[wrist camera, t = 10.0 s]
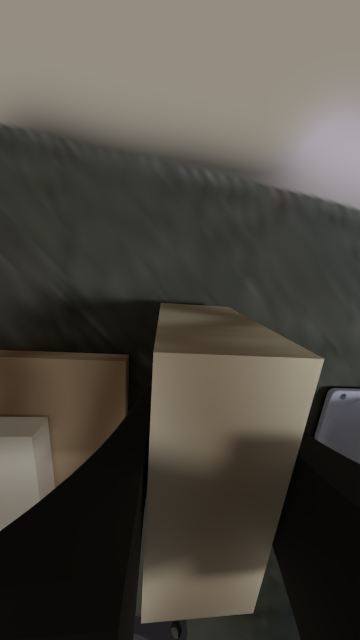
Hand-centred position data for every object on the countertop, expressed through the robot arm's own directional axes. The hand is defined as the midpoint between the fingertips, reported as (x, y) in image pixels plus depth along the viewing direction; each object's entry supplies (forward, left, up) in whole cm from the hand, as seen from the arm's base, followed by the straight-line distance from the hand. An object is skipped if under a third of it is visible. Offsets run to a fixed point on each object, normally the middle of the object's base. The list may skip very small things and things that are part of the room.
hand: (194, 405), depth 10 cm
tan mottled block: (0, 0, -3) cm, 3 cm away
